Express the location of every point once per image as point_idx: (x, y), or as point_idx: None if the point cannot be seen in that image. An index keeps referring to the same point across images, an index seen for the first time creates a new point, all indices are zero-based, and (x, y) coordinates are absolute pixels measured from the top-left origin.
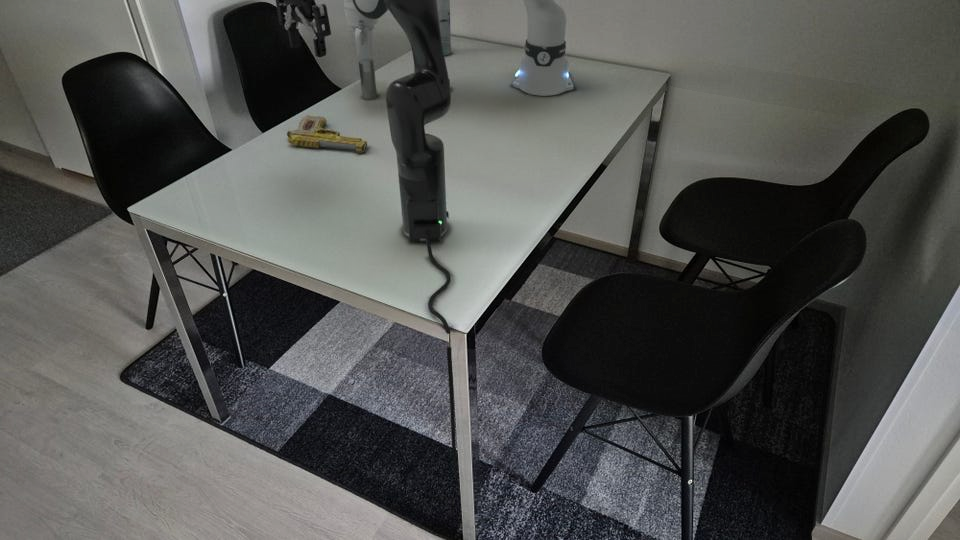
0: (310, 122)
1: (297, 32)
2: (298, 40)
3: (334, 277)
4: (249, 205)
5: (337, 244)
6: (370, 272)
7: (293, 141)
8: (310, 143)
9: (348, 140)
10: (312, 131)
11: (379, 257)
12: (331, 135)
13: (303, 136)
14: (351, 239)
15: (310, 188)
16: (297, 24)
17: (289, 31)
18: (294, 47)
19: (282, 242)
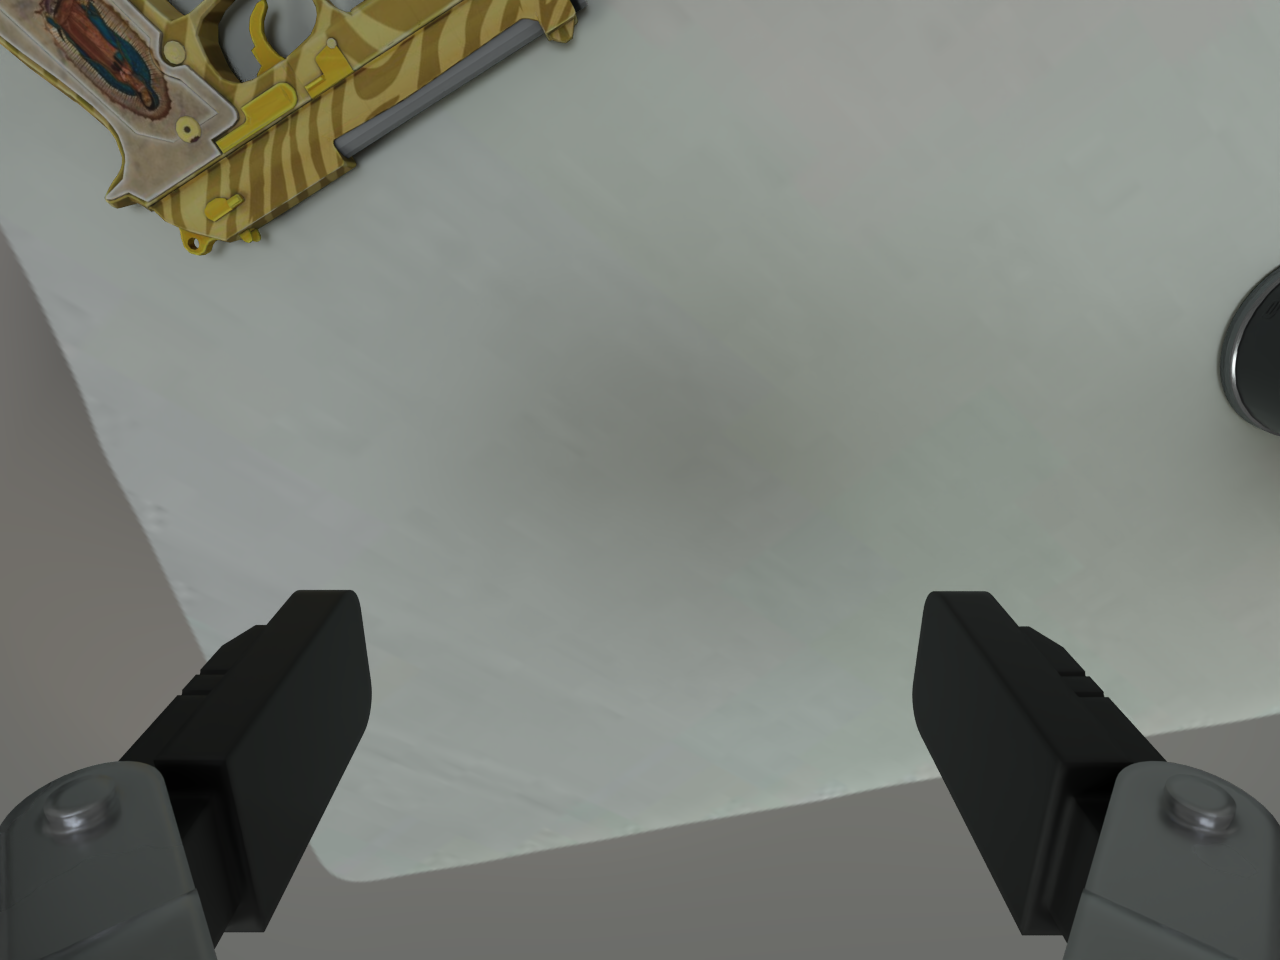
0: (74, 16)
1: (264, 747)
2: (321, 662)
3: (1168, 721)
4: (584, 662)
5: (1055, 614)
6: (1261, 642)
7: (229, 241)
8: (313, 189)
9: (449, 10)
10: (207, 99)
11: (1242, 573)
12: (321, 41)
13: (229, 178)
14: (1080, 566)
15: (661, 440)
16: (179, 841)
17: (256, 927)
18: (366, 695)
19: (881, 715)
